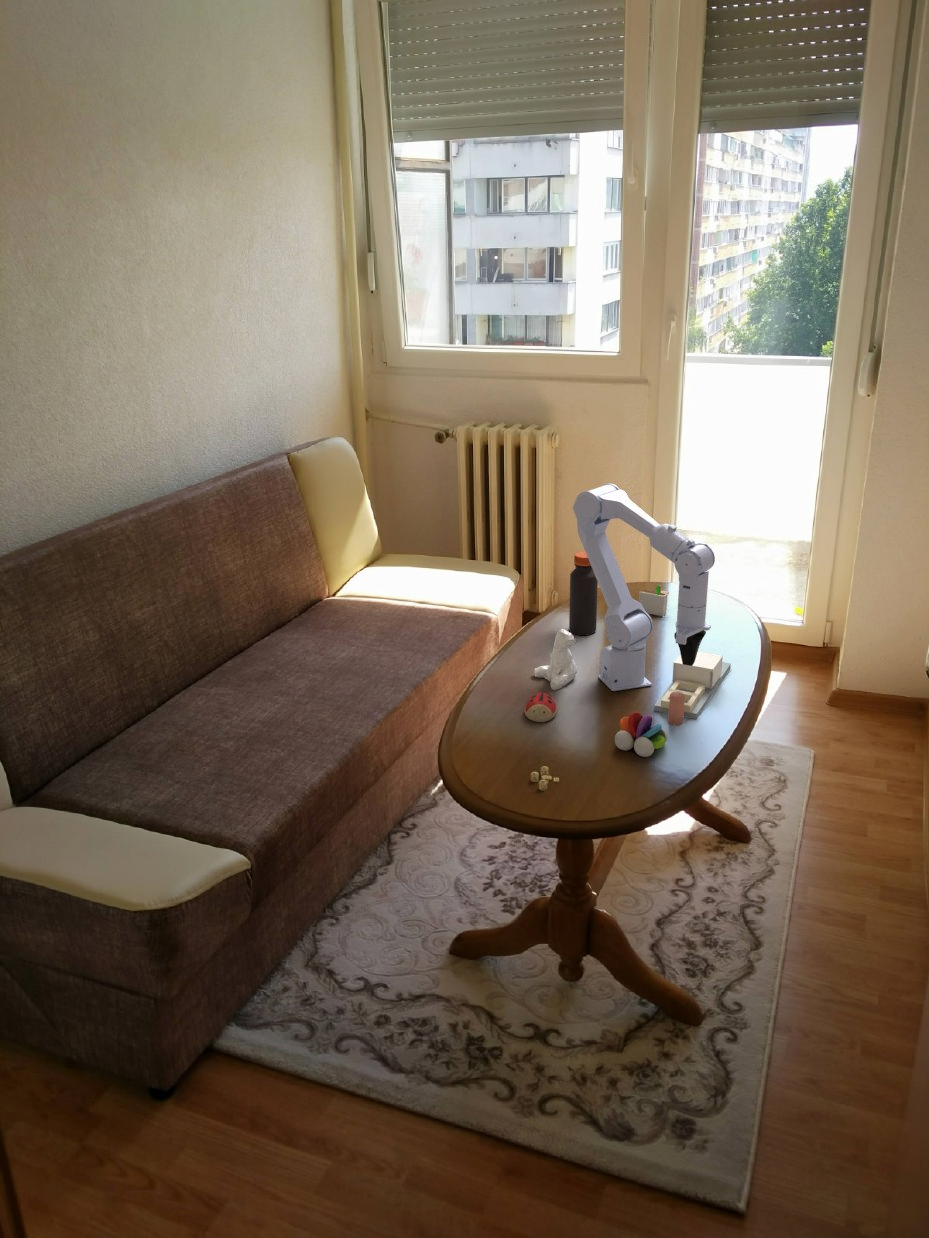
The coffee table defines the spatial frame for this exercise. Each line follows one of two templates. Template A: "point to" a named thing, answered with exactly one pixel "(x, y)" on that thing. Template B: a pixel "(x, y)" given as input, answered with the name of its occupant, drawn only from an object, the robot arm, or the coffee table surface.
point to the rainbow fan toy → (640, 734)
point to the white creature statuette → (559, 662)
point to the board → (691, 695)
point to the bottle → (583, 597)
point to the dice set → (542, 778)
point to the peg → (676, 708)
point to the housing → (699, 669)
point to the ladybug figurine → (540, 708)
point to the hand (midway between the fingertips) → (688, 664)
